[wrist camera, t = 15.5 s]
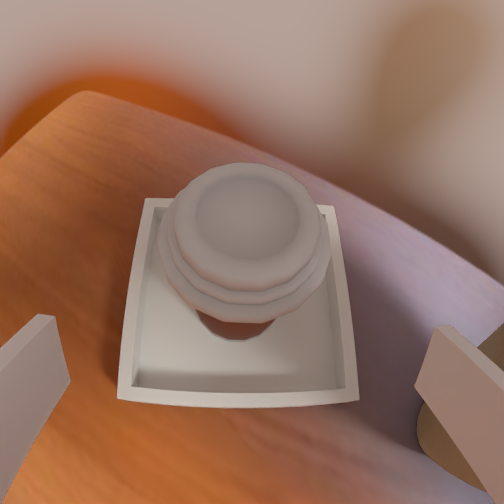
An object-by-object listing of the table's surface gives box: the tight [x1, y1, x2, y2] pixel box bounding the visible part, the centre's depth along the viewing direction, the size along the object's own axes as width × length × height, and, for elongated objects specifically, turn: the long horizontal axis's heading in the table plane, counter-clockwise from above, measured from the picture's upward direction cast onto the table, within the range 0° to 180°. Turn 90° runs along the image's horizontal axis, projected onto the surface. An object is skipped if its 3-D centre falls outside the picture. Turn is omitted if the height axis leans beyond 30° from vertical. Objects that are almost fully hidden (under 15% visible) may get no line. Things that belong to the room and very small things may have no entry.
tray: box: [117, 198, 359, 408], centre depth 25 cm, size 17×17×3 cm
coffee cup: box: [157, 162, 332, 342], centre depth 20 cm, size 9×9×12 cm
